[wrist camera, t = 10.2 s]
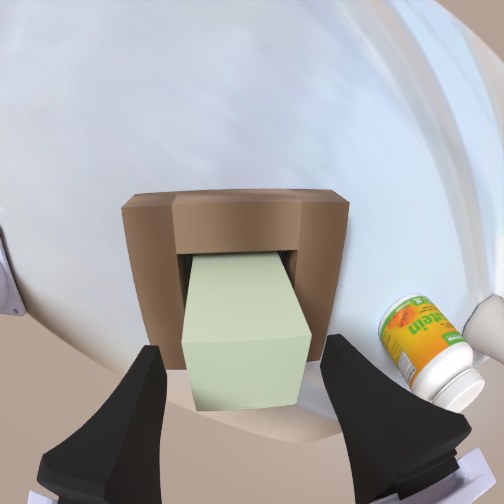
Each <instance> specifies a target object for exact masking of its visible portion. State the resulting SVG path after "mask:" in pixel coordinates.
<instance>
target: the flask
mask: <svg viewBox="0 0 504 504" xmlns="http://www.w3.org/2000/svg"><path fill="white" fill-rule="evenodd" d="M462 337H463V338H464V339H465V340H466V342H467V343H468V344H469V345H470V347H471V348H473V349H475V350H477V351H479V352H481V353H483V354H485V355H487V356H489V357H491V358H493V359H495V360H497V361H499V362H501V363H502V364H503V365H504V300H503V298H502V297H500V296H498V295H495V294H494V295H492V296H491V297H489V298H488V299H487V300H485V301H484V302H482V303H481V304H479V305H478V307H477V309H476V310H475V312H474V313H473V315H472V317H471V318H470V320H469V321H468V323H467V324H466V326H465V329H464V332H463V336H462Z"/></svg>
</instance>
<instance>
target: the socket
mask: <svg viewBox="0 0 504 504" xmlns="http://www.w3.org/2000/svg"><path fill="white" fill-rule="evenodd" d="M349 204H350V202H348V201H347V200H345V199H344V198H343V197H341V196H340V195H338V194H337V193H335V192H334V191H332V190H317V189H226V190H197V191H176V192H160V193H145V194H135V195H134V196H133V197H132V198H131V199H130V200H129V201H128V202H127V203H126V204H125V205H124V206H123V207H122V208H121V210H122V217H123V224H124V230H125V236H126V242H127V248H128V253H129V259H130V264H131V269H132V274H133V279H134V283H135V288H136V292H137V296H138V301H139V305H140V309H141V313H142V317H143V321H144V324H145V328H146V332H147V335H148V339H149V342H150V345H158V346H159V349H160V353H161V356H162V360H163V363H164V367H165V369H168V370H187V367H186V363H185V358H184V353H183V348H182V343H181V342H182V333H183V325H184V317H185V310H186V302H187V295H188V285H187V276H186V267H185V258H184V254H189V253H218V252H247V251H276V250H286V253H285V266H284V269H285V271H286V273H287V276H288V278H289V281H290V283H291V285H292V288H293V290H294V293H295V295H296V297H297V300H298V302H299V305H300V307H301V310H302V312H303V315H304V317H305V319H306V322H307V324H308V327H309V329H310V332H311V334H312V337H311V342H310V346H309V351H308V356H307V360H306V362H310V361H317V360H320V357H321V353H322V349H323V345H324V341H325V337H326V333H327V328H328V324H329V320H330V315H331V310H332V306H333V301H334V296H335V291H336V286H337V281H338V275H339V270H340V264H341V258H342V252H343V246H344V240H345V233H346V226H347V219H348V211H349Z"/></svg>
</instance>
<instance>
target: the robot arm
mask: <svg viewBox="0 0 504 504" xmlns="http://www.w3.org/2000/svg"><path fill="white" fill-rule="evenodd" d="M0 313H1V314H8V315H17V316H24V314H25V313H26V309H25V307H24V304H23V302H22V300H21V297H20V295H19V292H18V290H17V287H16V285H15V282H14V279H13V276H12V274H11V271H10V268H9V265H8V262H7V259H6V255H5V252H4V249H3V245H2V242H1V238H0ZM320 369H321V373H322V377H323V381H324V385H325V388H326V390H327V393H328V395H329V398H330V400H331V403H332V405H333V408H334V410H335V413H336V415H337V418H338V420H339V423H340V426H341V429H342V431H343V435H344V439H345V443H346V447H347V451H348V456H349V460H350V465H351V471H352V477H353V484H354V492H355V503H356V504H470V503H472V502H473V501H474V500H475V499H476V498H478V497H479V496H480V495H481V494H483V493H484V492H485V491H486V490H488V489H489V488H490V487H491V486H492V485H494V484H495V482H496V481H495V478H494V476H493V474H492V472H491V470H490V468H489V466H488V465H487V463H486V461H485V459H484V457H483V455H482V453H481V451H480V450H479V448H478V447H475V448H474V449H472V450H471V451H469V452H468V453H466V454H465V455H463V456H462V457H460V458H459V459H457V460H456V459H455V457H454V456H455V455H457V452H456V450H455V447H456V446H458V445H459V444H460V443H461V442H462V441H463V440H464V439H465V438H466V437H467V436H468V435H469V434H470V432H471V429H472V428H471V426H470V425H469V423H468V422H467V420H466V418H465V417H464V415H462V414H459V413H456V412H453V411H450V410H446V409H444V408H441V407H439V406H436V405H434V404H432V403H430V402H428V401H425V400H423V399H422V398H420V397H418V396H416V395H414V394H412V393H411V392H409V391H407V390H406V389H404V388H403V387H401V386H400V385H398V384H397V383H395V382H394V381H393V380H391V379H390V378H389V377H387V376H386V375H385V374H384V373H382V372H381V371H380V370H379V369H378V368H376V367H375V366H374V365H373V364H372V363H371V362H370V361H368V360H367V359H366V358H365V357H364V356H363V355H362V354H361V353H360V352H359V351H358V350H357V349H356V348H355V347H354V346H352V345H351V344H350V343H349V342H348V341H347V340H346V339H345V338H344V337H343V336H342V335H341V334H336V335H328V336H327V340H326V344H325V348H324V352H323V356H322V360H321V364H320ZM166 396H167V373H166V370H165V367H164V363H163V360H162V356H161V353H160V349H159V346H158V345H145V346H144V347H143V348H142V349H141V351H140V353H139V354H138V356H137V358H136V359H135V361H134V363H133V364H132V366H131V367H130V369H129V370H128V372H127V373H126V375H125V376H124V378H123V379H122V381H121V382H120V384H119V385H118V386H117V388H116V389H115V390H114V391H113V393H112V394H111V396H110V397H109V398H108V399H107V400H106V402H105V403H104V404H103V405H102V406H101V408H100V409H99V410H98V411H97V412H96V413H95V414H94V415H93V416H92V417H91V418H90V419H89V420H88V421H87V422H86V423H85V424H84V425H83V426H82V427H81V428H80V429H78V430H77V431H76V432H75V433H73V434H72V435H71V436H70V437H68V438H67V439H66V440H65V441H63V442H62V443H60V444H59V445H57V446H56V447H54V448H53V449H51V450H50V451H48V452H47V453H45V454H43V456H42V459H41V462H40V466H39V470H38V475H37V482H38V483H39V484H40V485H42V486H43V487H45V488H46V489H48V490H50V491H51V492H53V493H54V494H56V495H58V496H59V499H58V501H57V500H54V499H52V498H50V497H47V496H45V495H42V494H40V493H38V492H35V491H33V490H30V493H29V498H28V503H27V504H162V501H161V489H160V464H159V455H160V453H159V452H160V437H161V430H162V423H163V416H164V410H165V403H166Z"/></svg>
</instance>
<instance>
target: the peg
mask: <svg viewBox="0 0 504 504" xmlns="http://www.w3.org/2000/svg"><path fill="white" fill-rule="evenodd" d="M311 337H312V334H311V332H310V329H309V327H308V324H307V322H306V319H305V317H304V315H303V312H302V310H301V307H300V305H299V302H298V300H297V297H296V295H295V293H294V290H293V288H292V285H291V283H290V281H289V278H288V276H287V273H286V271H285V269H284V266H283V264H282V262H281V259H280V257H279V255H278V252H277V250H276V251H247V252H218V253H194V256H193V262H192V268H191V275H190V281H189V288H188V295H187V302H186V310H185V317H184V325H183V333H182V342H181V343H182V348H183V353H184V358H185V363H186V367H187V372H188V376H189V381H190V385H191V390H192V394H193V398H194V402H195V406H196V410H197V411H226V410H244V409H258V408H269V407H278V406H286V405H294V404H296V403H297V399H298V395H299V391H300V386H301V382H302V378H303V374H304V369H305V365H306V360H307V356H308V351H309V346H310V342H311Z"/></svg>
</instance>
